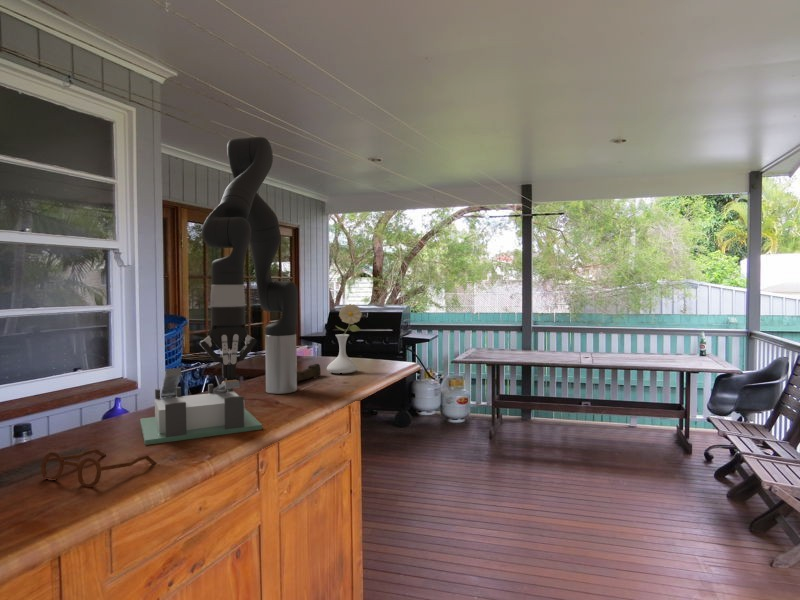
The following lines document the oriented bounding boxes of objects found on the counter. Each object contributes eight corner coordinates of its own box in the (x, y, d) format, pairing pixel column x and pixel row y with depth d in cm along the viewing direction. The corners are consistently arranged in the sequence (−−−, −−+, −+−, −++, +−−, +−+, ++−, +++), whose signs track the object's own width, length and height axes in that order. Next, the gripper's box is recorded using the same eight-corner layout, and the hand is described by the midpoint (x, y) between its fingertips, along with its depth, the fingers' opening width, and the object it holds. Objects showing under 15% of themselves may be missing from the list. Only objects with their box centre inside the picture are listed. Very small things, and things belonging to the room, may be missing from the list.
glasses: (39, 481, 92) (38, 452, 91) (105, 457, 104) (104, 431, 104) (97, 491, 87) (96, 461, 87) (158, 465, 99) (157, 438, 99)
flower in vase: (322, 375, 190) (322, 304, 189) (332, 369, 201) (331, 303, 200) (358, 376, 188) (358, 304, 187) (366, 370, 199) (365, 303, 198)
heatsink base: (140, 422, 127) (139, 389, 127) (243, 410, 139) (242, 379, 138) (145, 445, 110) (144, 406, 110) (262, 429, 122) (261, 394, 121)
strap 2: (214, 395, 133) (213, 387, 134) (226, 394, 135) (226, 386, 135) (225, 388, 119) (225, 379, 120) (239, 387, 121) (239, 378, 121)
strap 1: (161, 401, 127) (160, 393, 128) (175, 399, 129) (174, 391, 129) (166, 376, 114) (165, 367, 115) (181, 374, 116) (180, 366, 117)
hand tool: (293, 386, 171) (293, 371, 171) (283, 385, 173) (283, 370, 173) (326, 376, 188) (326, 363, 188) (317, 375, 190) (317, 362, 190)
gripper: (253, 303, 129) (254, 375, 130) (195, 304, 123) (196, 380, 123) (261, 304, 122) (262, 380, 123) (199, 305, 116) (201, 385, 117)
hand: (229, 380), depth 123 cm, fingers closed
